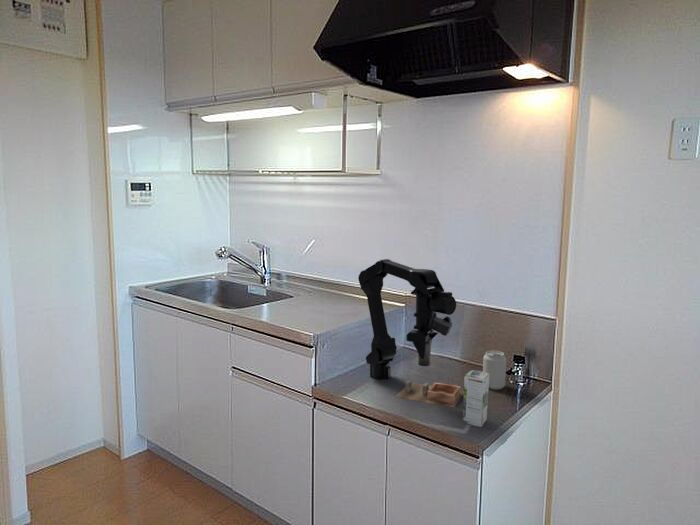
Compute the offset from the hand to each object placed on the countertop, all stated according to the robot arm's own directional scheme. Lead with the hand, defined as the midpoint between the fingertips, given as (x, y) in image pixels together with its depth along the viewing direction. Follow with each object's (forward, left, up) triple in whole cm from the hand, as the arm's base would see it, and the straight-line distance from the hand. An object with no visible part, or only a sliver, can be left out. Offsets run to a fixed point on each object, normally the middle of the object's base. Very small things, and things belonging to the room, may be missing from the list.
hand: (424, 356), depth 168 cm
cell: (0, 0, -3) cm, 2 cm away
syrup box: (+19, -12, -14) cm, 26 cm away
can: (+19, +18, -14) cm, 30 cm away
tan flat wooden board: (+2, 0, -13) cm, 13 cm away
